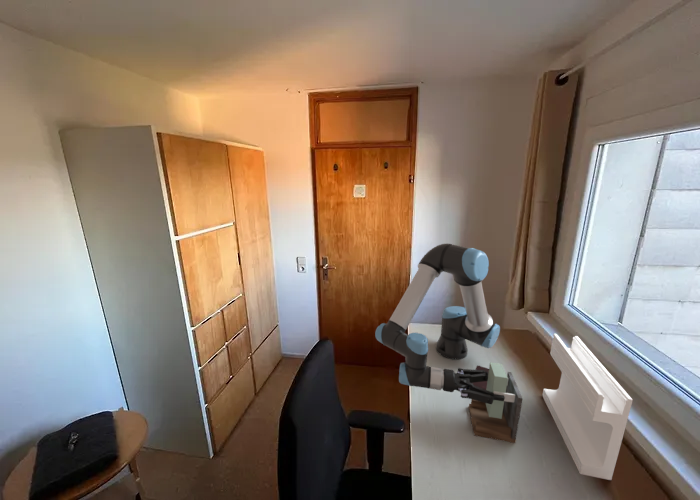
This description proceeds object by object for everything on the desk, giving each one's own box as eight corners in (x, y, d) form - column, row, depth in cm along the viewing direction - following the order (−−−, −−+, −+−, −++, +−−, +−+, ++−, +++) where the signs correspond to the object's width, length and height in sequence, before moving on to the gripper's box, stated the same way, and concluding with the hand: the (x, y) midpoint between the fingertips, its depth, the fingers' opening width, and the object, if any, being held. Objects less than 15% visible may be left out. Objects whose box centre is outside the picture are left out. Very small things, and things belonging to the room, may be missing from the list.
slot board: (468, 406, 121) (473, 367, 117) (505, 412, 119) (511, 372, 114) (474, 435, 108) (479, 392, 104) (515, 443, 105) (522, 398, 101)
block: (611, 480, 93) (632, 399, 86) (580, 473, 95) (598, 394, 88) (564, 399, 126) (577, 336, 119) (542, 395, 128) (553, 333, 121)
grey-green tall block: (484, 400, 116) (490, 362, 112) (496, 402, 115) (502, 364, 111) (488, 416, 108) (494, 376, 104) (501, 418, 107) (507, 377, 103)
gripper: (440, 371, 124) (502, 380, 119) (443, 408, 104) (517, 421, 99) (441, 354, 122) (505, 362, 117) (445, 389, 103) (521, 401, 98)
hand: (510, 389), depth 108 cm, fingers closed on grey-green tall block, 8 cm apart
